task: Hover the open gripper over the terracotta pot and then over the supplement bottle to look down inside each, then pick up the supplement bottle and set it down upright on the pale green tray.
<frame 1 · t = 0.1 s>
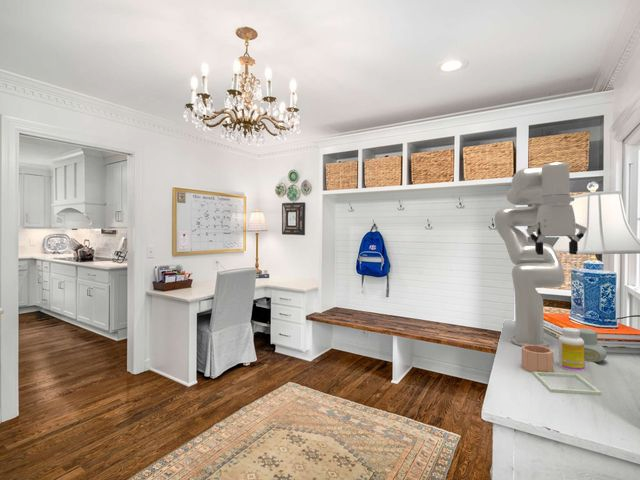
hand: (556, 254, 113), 37 cm above the table, tool pointing down, fingers open, 9 cm apart
pot: (537, 371, 110), on the table
supplement bottle: (571, 369, 111), on the table
tray: (564, 386, 99), on the table
air freshener: (586, 360, 119), on the table
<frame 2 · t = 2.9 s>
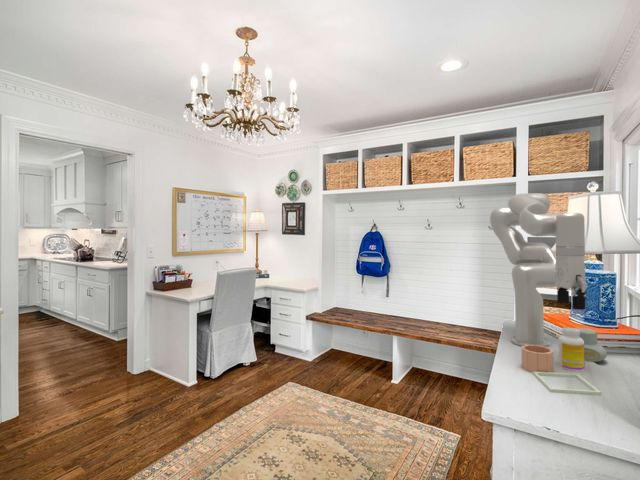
hand: (570, 305, 110), 20 cm above the table, tool pointing down, fingers open, 9 cm apart
nothing on the table moved.
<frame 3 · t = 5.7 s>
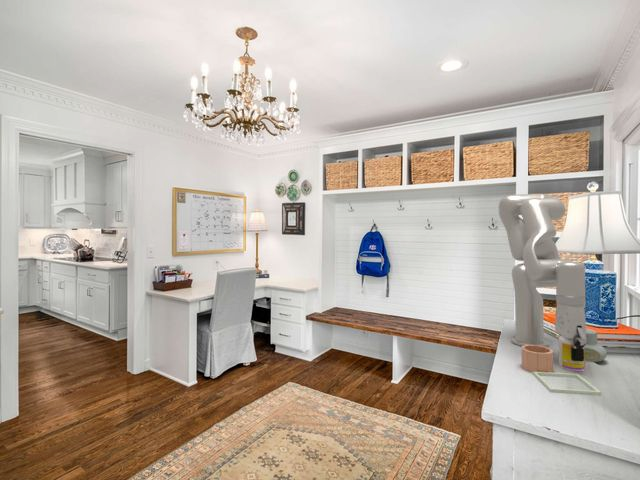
hand: (571, 356, 111), 4 cm above the table, tool pointing down, fingers closed on supplement bottle, 6 cm apart
supplement bottle: (571, 369, 111), on the table, touching gripper
everything else where it was.
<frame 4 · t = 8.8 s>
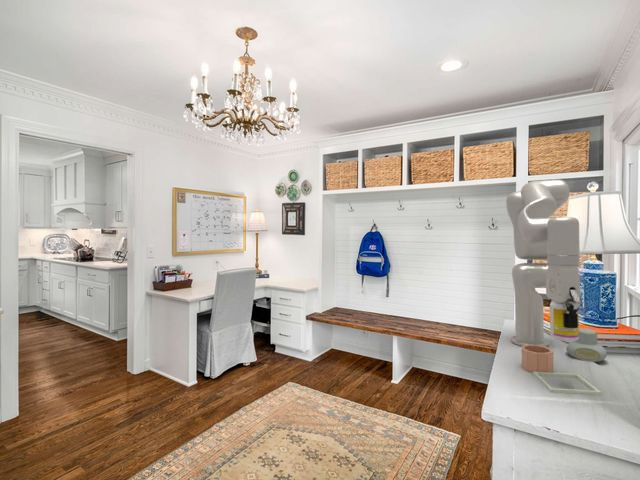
hand: (563, 323, 98), 18 cm above the table, tool pointing down, fingers closed on supplement bottle, 6 cm apart
supplement bottle: (564, 339, 98), point 14 cm above the table, touching gripper
everything else where it was.
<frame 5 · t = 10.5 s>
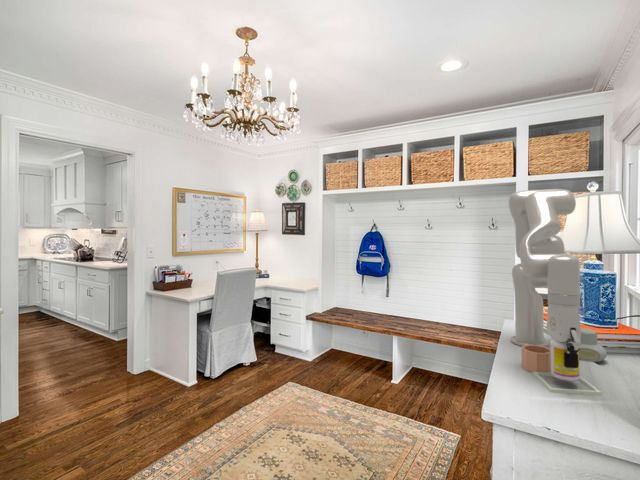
hand: (564, 361, 98), 7 cm above the table, tool pointing down, fingers closed on supplement bottle, 6 cm apart
supplement bottle: (564, 377, 98), point 3 cm above the table, touching gripper
everything else where it was.
when the fingers open (6 cm above the table, at t = 11.7 s): supplement bottle drops 1 cm, resting on tray.
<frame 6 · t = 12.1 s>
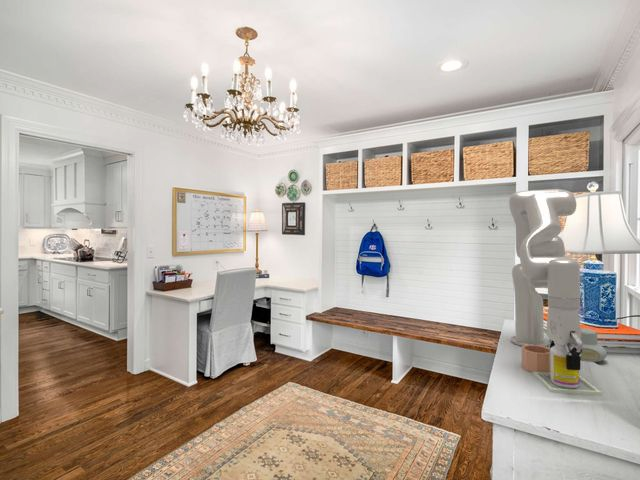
hand: (564, 363, 98), 7 cm above the table, tool pointing down, fingers open, 9 cm apart
supplement bottle: (564, 384, 99), resting on tray
everything else where it was.
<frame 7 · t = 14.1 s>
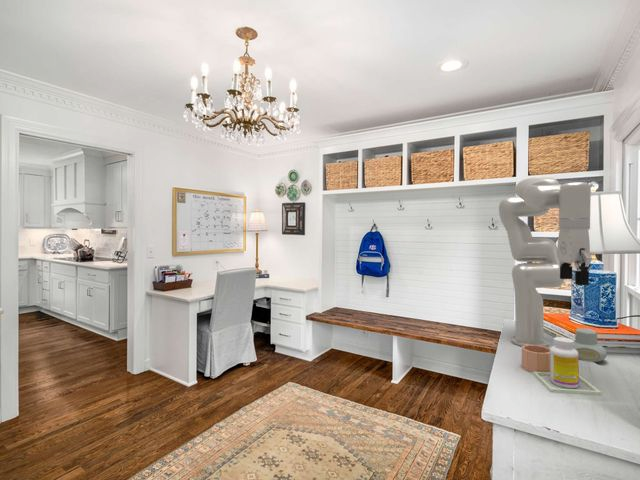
hand: (573, 281, 104), 29 cm above the table, tool pointing down, fingers open, 9 cm apart
nothing on the table moved.
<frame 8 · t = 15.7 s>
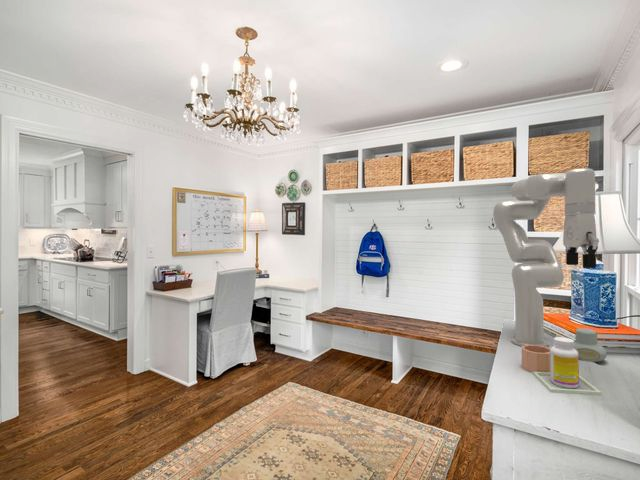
hand: (580, 266, 106), 33 cm above the table, tool pointing down, fingers open, 9 cm apart
nothing on the table moved.
at the end: supplement bottle inside the target area on the tray (0.3 cm from its centre), point 0.4 cm above the tray's base; supplement bottle tilted 0°; the gripper is holding nothing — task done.
